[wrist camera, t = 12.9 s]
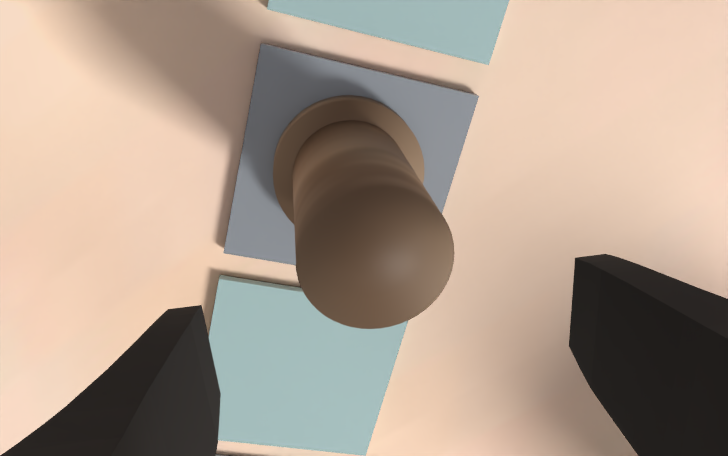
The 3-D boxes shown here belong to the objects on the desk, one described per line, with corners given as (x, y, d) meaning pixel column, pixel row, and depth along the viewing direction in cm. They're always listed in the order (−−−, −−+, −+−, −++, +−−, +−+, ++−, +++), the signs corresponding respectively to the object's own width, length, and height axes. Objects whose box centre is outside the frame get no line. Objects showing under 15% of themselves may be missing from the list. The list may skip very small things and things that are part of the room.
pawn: (417, 88, 19) (481, 147, 13) (421, 227, 21) (478, 337, 15) (264, 102, 19) (254, 170, 12) (282, 242, 21) (282, 362, 14)
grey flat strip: (689, -587, 14) (697, -598, 14) (322, 584, 28) (322, 590, 28) (400, -739, 13) (403, -755, 12) (166, 574, 27) (164, 581, 26)
